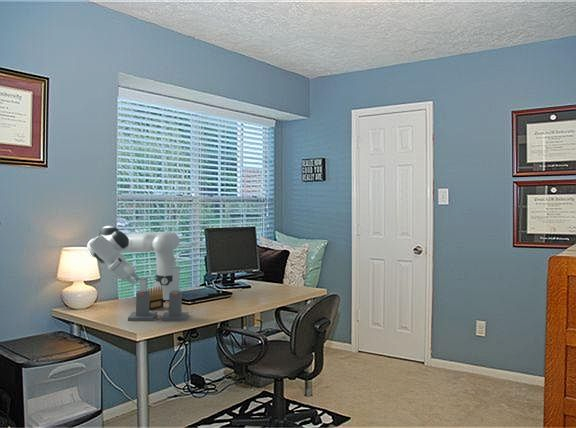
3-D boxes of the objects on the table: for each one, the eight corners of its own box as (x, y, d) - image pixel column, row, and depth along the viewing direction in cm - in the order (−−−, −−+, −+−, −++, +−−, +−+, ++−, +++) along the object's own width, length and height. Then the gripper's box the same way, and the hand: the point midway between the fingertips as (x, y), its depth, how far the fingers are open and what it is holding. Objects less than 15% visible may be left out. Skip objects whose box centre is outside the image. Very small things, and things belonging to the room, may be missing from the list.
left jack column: (140, 311, 253) (140, 277, 253) (146, 311, 254) (147, 277, 253) (139, 312, 250) (139, 278, 250) (145, 312, 251) (145, 278, 250)
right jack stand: (164, 314, 259) (165, 264, 258) (188, 314, 261) (189, 265, 260) (161, 320, 247) (162, 268, 246) (186, 320, 249) (187, 268, 248)
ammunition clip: (148, 310, 267) (148, 288, 267) (145, 310, 268) (146, 287, 268) (163, 307, 276) (164, 285, 276) (161, 306, 277) (161, 285, 277)
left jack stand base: (132, 314, 257) (133, 289, 257) (156, 314, 259) (157, 289, 258) (127, 320, 246) (128, 293, 245) (152, 320, 247) (153, 294, 246)
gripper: (117, 263, 259) (136, 282, 261) (107, 269, 239) (127, 290, 240) (126, 255, 260) (145, 274, 261) (117, 260, 239) (137, 281, 241)
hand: (136, 282), depth 251 cm, fingers open, 8 cm apart
